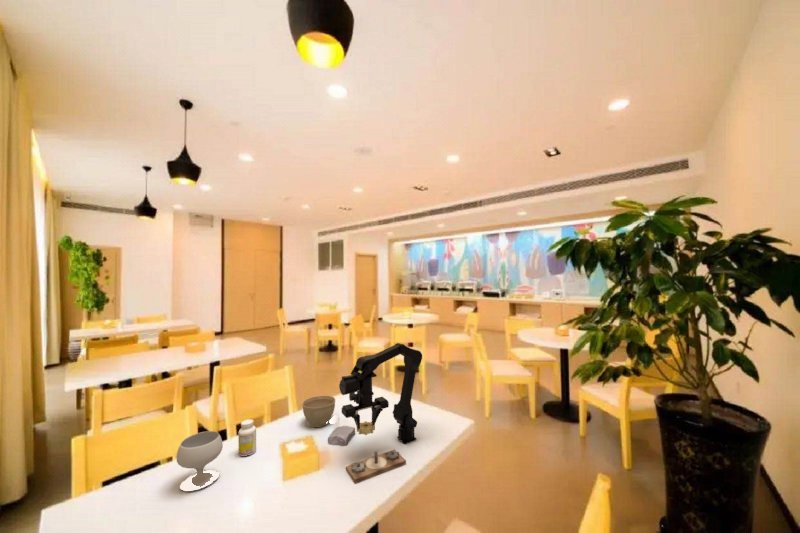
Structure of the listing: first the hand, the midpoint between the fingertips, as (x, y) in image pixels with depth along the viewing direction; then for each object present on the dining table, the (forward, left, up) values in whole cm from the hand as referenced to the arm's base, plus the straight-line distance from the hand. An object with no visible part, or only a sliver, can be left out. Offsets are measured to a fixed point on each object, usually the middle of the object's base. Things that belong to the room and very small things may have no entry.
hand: (365, 427), depth 123 cm
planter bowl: (+8, -39, -11) cm, 41 cm away
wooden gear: (0, 0, -1) cm, 1 cm away
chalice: (+57, -18, -11) cm, 61 cm away
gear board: (0, +9, -11) cm, 14 cm away
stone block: (+4, -19, -12) cm, 22 cm away
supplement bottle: (+41, -29, -11) cm, 52 cm away
